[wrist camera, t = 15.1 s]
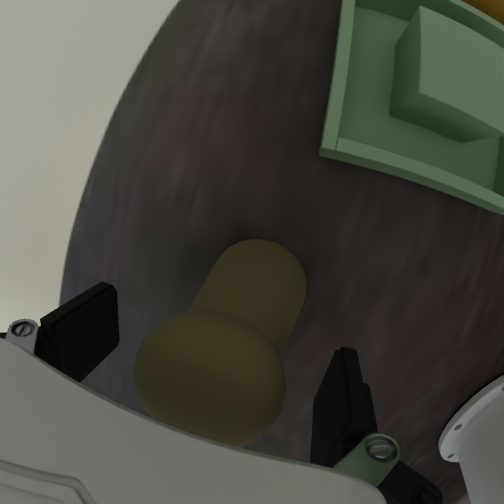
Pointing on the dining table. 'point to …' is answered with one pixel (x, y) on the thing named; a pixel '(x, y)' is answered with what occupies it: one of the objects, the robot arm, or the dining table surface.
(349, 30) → the green bin
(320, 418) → the robot arm
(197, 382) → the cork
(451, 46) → the green block
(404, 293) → the dining table surface
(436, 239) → the dining table surface
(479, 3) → the ochre bin
